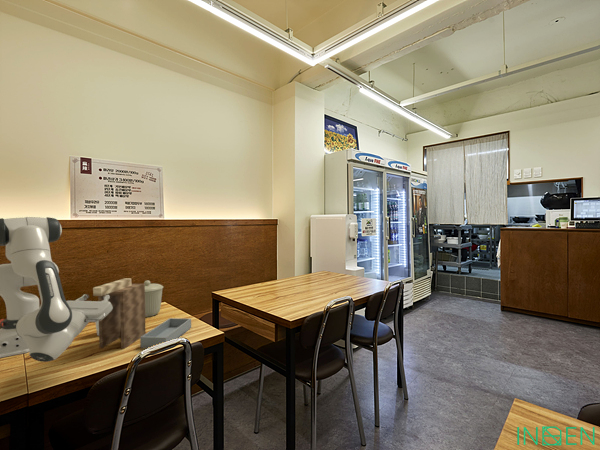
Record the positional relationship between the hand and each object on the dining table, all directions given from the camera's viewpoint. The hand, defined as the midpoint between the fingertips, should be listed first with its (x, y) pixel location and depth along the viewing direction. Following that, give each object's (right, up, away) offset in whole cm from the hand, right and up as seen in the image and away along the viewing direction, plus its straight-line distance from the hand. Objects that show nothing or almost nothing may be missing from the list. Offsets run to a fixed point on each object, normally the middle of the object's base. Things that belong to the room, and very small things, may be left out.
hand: (97, 295), depth 127 cm
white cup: (-14, -26, +26) cm, 39 cm away
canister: (-7, -25, +56) cm, 62 cm away
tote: (+21, -26, +21) cm, 39 cm away
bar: (+1, 0, +10) cm, 10 cm away
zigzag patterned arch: (+2, -26, +16) cm, 31 cm away
